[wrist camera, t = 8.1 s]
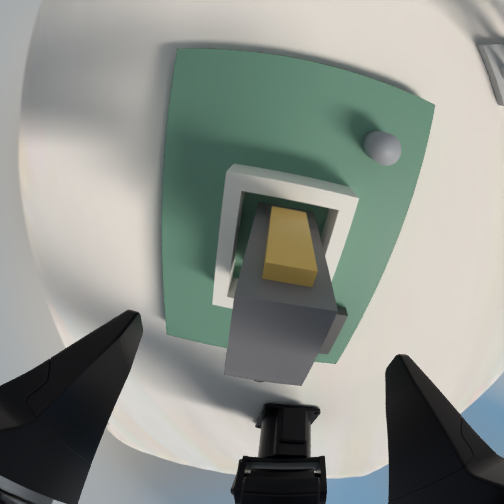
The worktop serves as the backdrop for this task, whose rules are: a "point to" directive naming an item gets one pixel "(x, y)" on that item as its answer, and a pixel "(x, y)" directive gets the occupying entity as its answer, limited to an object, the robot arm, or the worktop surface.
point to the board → (281, 178)
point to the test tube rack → (494, 67)
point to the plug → (280, 299)
